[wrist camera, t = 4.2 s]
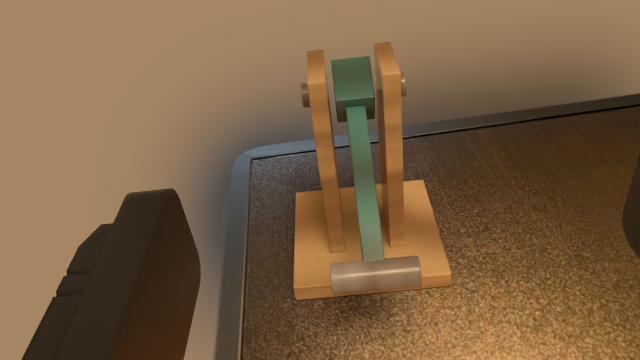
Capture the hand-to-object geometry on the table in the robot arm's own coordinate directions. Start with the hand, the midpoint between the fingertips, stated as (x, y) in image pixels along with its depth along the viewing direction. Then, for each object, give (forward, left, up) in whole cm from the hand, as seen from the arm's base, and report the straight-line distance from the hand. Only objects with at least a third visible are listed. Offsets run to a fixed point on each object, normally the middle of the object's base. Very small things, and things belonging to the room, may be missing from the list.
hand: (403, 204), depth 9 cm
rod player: (0, +17, -12) cm, 20 cm away
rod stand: (0, +20, -20) cm, 29 cm away
